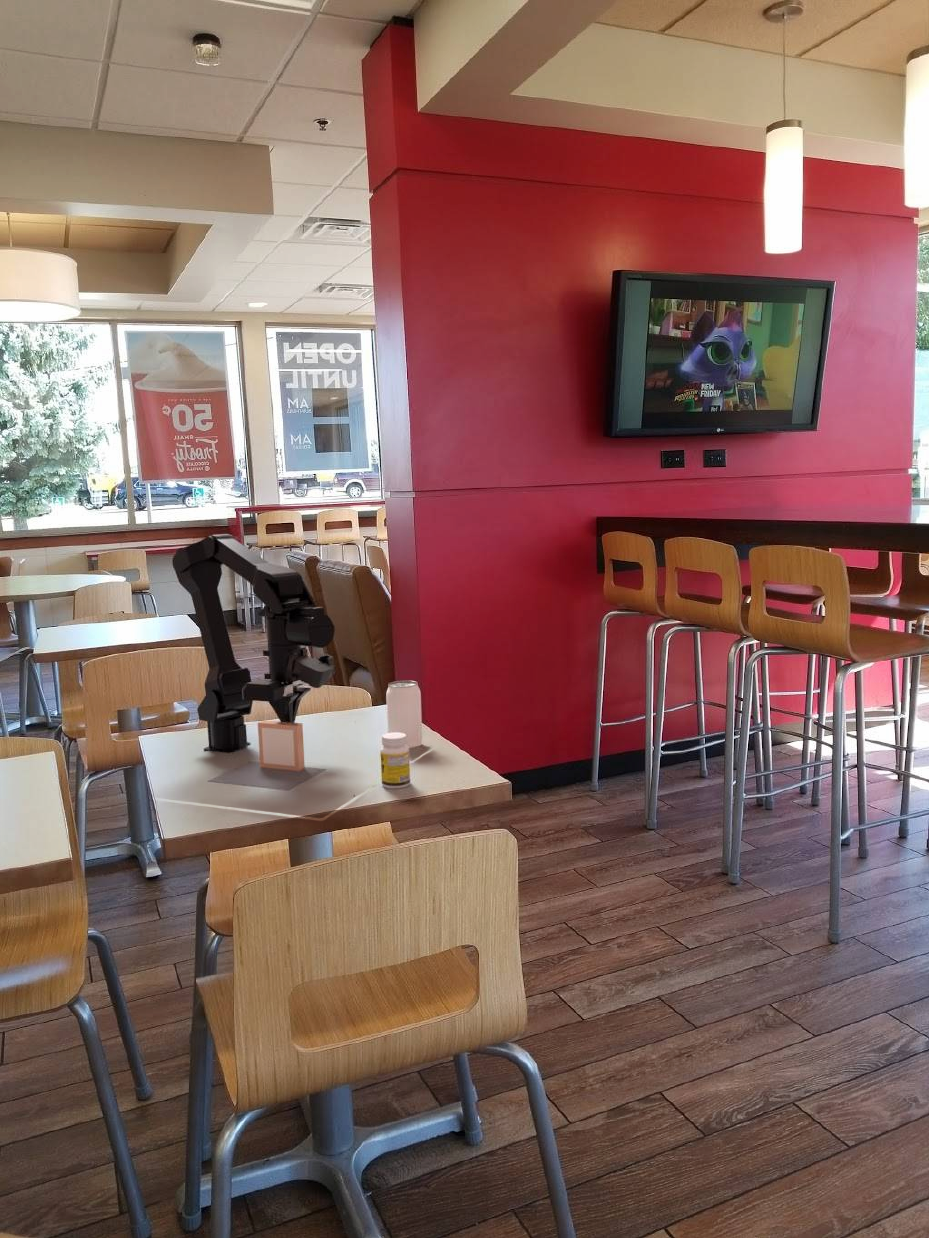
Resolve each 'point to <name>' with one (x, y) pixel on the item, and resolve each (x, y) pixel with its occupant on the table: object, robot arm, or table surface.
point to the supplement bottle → (395, 761)
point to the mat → (266, 776)
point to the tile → (281, 745)
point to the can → (405, 711)
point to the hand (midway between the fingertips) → (289, 729)
